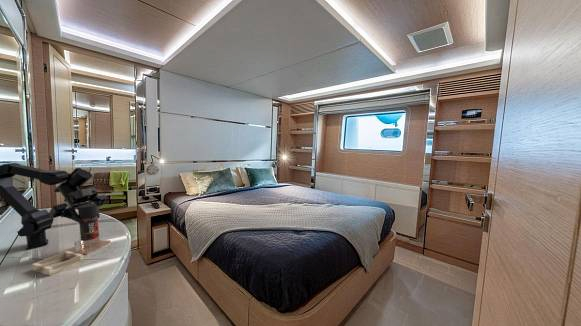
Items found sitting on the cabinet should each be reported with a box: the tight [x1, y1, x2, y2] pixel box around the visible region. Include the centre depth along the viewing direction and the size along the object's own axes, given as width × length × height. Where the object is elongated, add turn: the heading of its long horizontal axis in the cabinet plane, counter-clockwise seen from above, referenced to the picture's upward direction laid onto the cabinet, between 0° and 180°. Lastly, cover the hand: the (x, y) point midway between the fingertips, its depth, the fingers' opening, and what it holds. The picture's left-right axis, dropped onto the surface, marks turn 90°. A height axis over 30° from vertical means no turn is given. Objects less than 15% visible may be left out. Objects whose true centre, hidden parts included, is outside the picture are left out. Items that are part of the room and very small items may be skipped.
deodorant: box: [77, 203, 100, 241], centre depth 93 cm, size 6×6×15 cm
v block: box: [63, 236, 111, 255], centre depth 95 cm, size 10×11×3 cm
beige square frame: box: [31, 250, 85, 277], centre depth 82 cm, size 10×10×2 cm
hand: (90, 220), depth 93 cm, fingers closed on deodorant, 6 cm apart
